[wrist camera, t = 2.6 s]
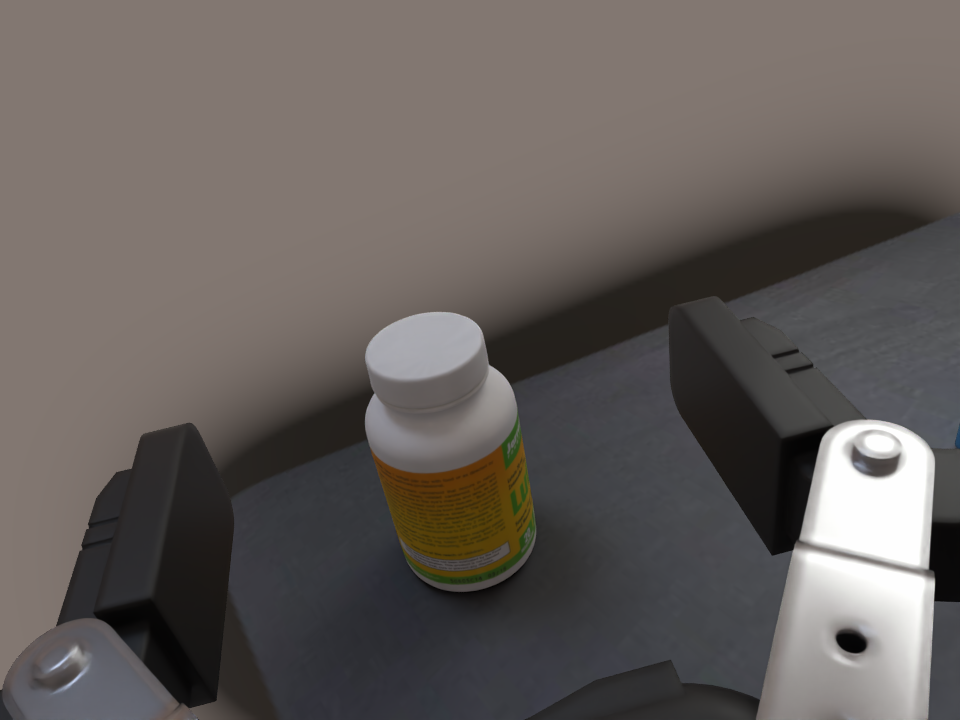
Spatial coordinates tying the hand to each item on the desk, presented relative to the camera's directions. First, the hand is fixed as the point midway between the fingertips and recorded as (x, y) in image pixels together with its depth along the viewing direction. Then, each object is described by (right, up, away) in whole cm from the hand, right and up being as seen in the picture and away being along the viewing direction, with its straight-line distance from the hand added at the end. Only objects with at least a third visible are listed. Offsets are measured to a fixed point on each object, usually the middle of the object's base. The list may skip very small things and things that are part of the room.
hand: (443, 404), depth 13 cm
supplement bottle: (0, -7, +18) cm, 20 cm away
